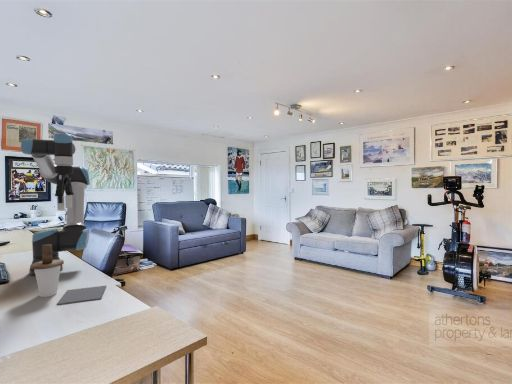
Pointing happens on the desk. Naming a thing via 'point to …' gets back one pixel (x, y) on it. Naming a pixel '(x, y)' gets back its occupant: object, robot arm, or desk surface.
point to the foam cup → (47, 281)
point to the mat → (82, 295)
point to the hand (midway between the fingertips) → (65, 209)
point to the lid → (47, 259)
